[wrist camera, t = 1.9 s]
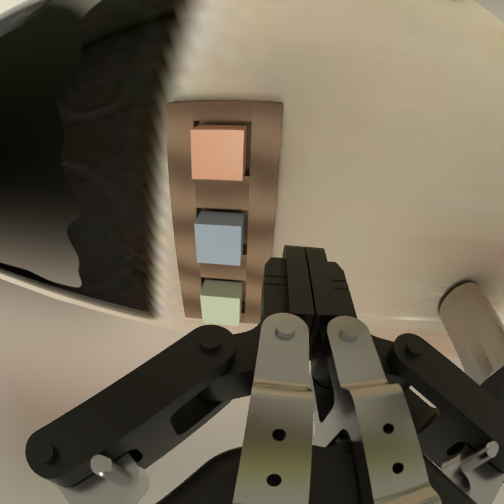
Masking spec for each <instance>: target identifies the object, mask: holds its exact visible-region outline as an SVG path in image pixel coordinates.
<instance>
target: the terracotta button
mask: <svg viewBox="0 0 504 504" xmlns="http://www.w3.org/2000/svg"><path fill="white" fill-rule="evenodd" d="M246 138H247V125H198V126H196V127H194V128H193V129H191V167H192V179H211V180H235V181H243V177H244V174H245V168H246Z"/></svg>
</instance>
